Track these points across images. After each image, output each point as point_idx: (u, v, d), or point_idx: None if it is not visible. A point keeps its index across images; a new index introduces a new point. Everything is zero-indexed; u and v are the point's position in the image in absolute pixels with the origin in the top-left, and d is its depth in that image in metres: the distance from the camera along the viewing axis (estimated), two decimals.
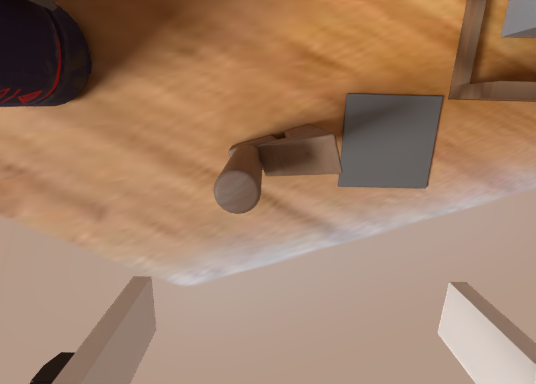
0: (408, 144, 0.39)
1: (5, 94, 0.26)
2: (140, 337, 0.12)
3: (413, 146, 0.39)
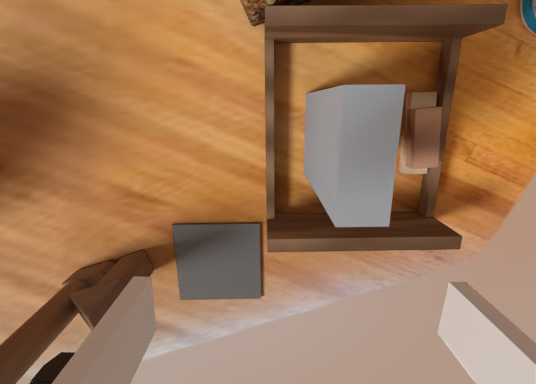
0: (237, 263, 0.43)
1: None
2: (140, 337, 0.12)
3: (242, 265, 0.43)
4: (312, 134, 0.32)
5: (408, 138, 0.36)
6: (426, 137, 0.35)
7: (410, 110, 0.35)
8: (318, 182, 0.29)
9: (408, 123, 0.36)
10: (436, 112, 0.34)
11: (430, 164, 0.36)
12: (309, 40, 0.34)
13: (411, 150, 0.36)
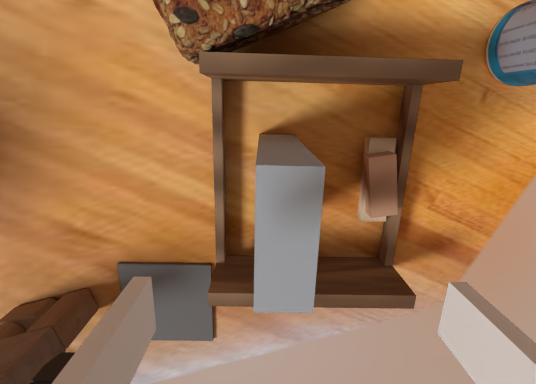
0: (187, 304, 0.40)
1: None
2: (140, 337, 0.12)
3: (192, 306, 0.40)
4: None
5: (365, 184, 0.34)
6: (382, 185, 0.33)
7: (364, 156, 0.33)
8: None
9: (364, 169, 0.34)
10: (390, 159, 0.32)
11: (389, 212, 0.34)
12: (260, 80, 0.31)
13: (368, 198, 0.34)
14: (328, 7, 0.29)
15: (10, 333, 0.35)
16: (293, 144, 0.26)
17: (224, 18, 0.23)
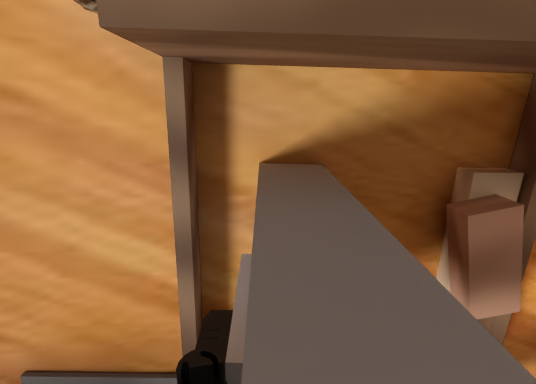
0: None
1: None
2: None
3: None
4: None
5: (452, 257, 0.19)
6: (493, 263, 0.17)
7: (454, 210, 0.17)
8: None
9: (450, 230, 0.18)
10: (512, 216, 0.16)
11: (504, 309, 0.18)
12: (262, 61, 0.16)
13: (463, 284, 0.18)
14: None
15: None
16: (342, 209, 0.10)
17: None
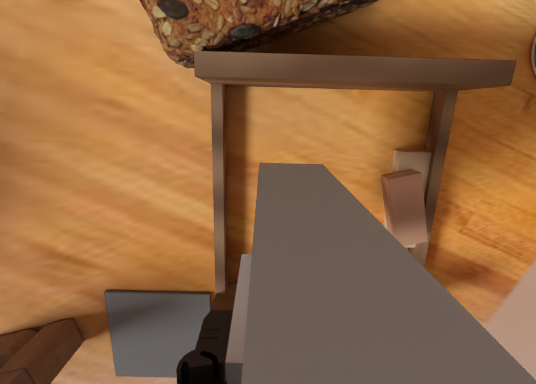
0: (182, 338, 0.35)
1: None
2: None
3: (189, 340, 0.36)
4: None
5: (386, 209, 0.30)
6: (407, 209, 0.28)
7: (384, 177, 0.28)
8: None
9: (384, 191, 0.29)
10: (415, 179, 0.27)
11: (417, 240, 0.29)
12: (267, 85, 0.27)
13: (391, 225, 0.29)
14: (344, 11, 0.25)
15: None
16: (342, 210, 0.11)
17: (219, 15, 0.19)
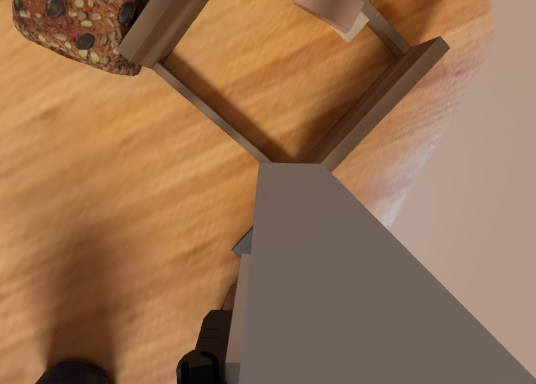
0: None
1: None
2: None
3: None
4: None
5: (320, 17, 0.34)
6: None
7: (294, 1, 0.33)
8: None
9: (306, 9, 0.34)
10: None
11: (357, 9, 0.32)
12: (179, 34, 0.35)
13: (332, 21, 0.33)
14: None
15: None
16: (342, 209, 0.10)
17: (105, 18, 0.28)
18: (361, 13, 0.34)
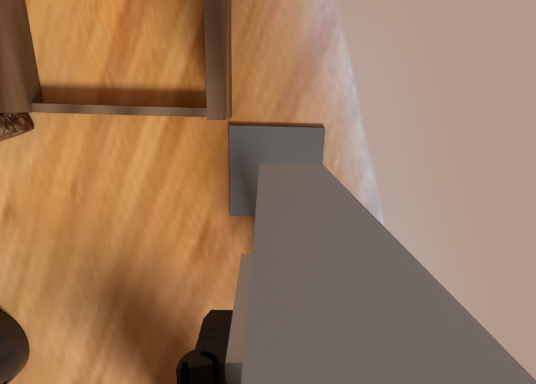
0: (276, 153, 0.38)
1: None
2: None
3: (279, 147, 0.38)
4: None
5: None
6: None
7: None
8: None
9: None
10: None
11: None
12: (28, 66, 0.34)
13: None
14: None
15: None
16: (342, 210, 0.10)
17: None
18: None
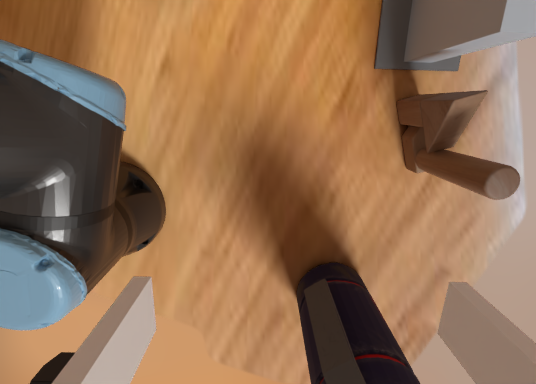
0: None
1: (382, 316, 0.41)
2: (140, 337, 0.12)
3: None
4: (433, 2, 0.35)
5: None
6: None
7: None
8: (450, 33, 0.32)
9: None
10: None
11: None
12: None
13: None
14: None
15: (425, 151, 0.41)
16: None
17: None
18: None
